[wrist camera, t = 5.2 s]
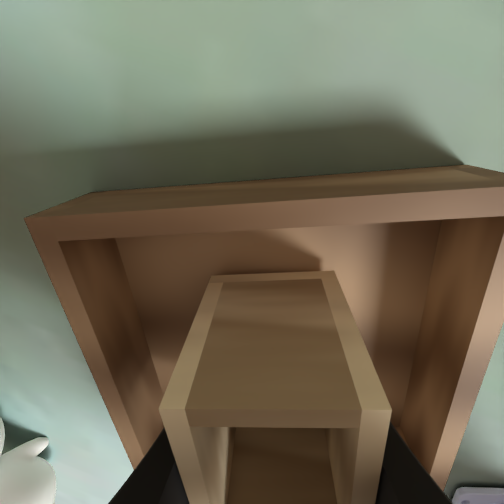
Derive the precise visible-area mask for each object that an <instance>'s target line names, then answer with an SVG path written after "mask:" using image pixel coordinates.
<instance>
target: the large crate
mask: <svg viewBox="0 0 504 504" xmlns="http://www.w3.org/2000/svg"><path fill="white" fill-rule="evenodd" d="M24 220H25V222H26V225H27V227H28V229H29V232H30V234H31V236H32V238H33V241H34V243H35V245H36V248H37V250H38V252H39V254H40V257H41V259H42V261H43V263H44V266H45V268H46V270H47V273H48V275H49V277H50V279H51V282H52V284H53V286H54V289H55V291H56V293H57V295H58V298H59V300H60V302H61V305H62V307H63V309H64V311H65V314H66V316H67V318H68V320H69V323H70V325H71V327H72V330H73V332H74V334H75V336H76V339H77V341H78V343H79V346H80V348H81V350H82V352H83V355H84V357H85V359H86V362H87V364H88V366H89V368H90V371H91V373H92V375H93V378H94V380H95V382H96V384H97V387H98V389H99V391H100V393H101V396H102V398H103V400H104V403H105V405H106V407H107V409H108V412H109V414H110V416H111V419H112V421H113V423H114V425H115V428H116V430H117V432H118V435H119V437H120V439H121V441H122V444H123V446H124V448H125V450H126V453H127V455H128V457H129V460H130V462H131V464H132V466H133V469H134V470H135V468H136V467H137V466H138V464H139V463H140V462H141V460H142V459H143V457H144V456H145V455H146V453H147V452H148V450H149V449H150V448H151V446H152V445H153V443H154V442H155V440H156V439H157V437H158V436H159V434H160V433H161V431H162V430H163V428H164V424H163V421H162V418H161V415H160V412H159V406H160V404H161V401H162V399H163V396H164V394H165V391H166V389H167V386H168V384H169V381H170V379H171V376H172V374H173V371H174V369H175V366H176V363H177V361H178V358H179V356H180V353H181V351H182V348H183V346H184V343H185V341H186V338H187V336H188V333H189V331H190V328H191V326H192V323H193V321H194V318H195V316H196V313H197V311H198V308H199V306H200V303H201V301H202V298H203V296H204V293H205V290H206V288H207V285H208V283H209V280H210V278H211V276H212V275H236V274H260V273H284V272H308V271H332V270H334V271H335V274H336V276H337V279H338V281H339V283H340V286H341V288H342V291H343V293H344V295H345V298H346V300H347V303H348V305H349V307H350V310H351V312H352V315H353V317H354V319H355V322H356V324H357V327H358V329H359V332H360V334H361V336H362V339H363V341H364V344H365V346H366V348H367V351H368V353H369V356H370V358H371V360H372V363H373V365H374V368H375V370H376V373H377V375H378V377H379V380H380V382H381V385H382V387H383V389H384V392H385V394H386V397H387V399H388V401H389V404H390V406H391V409H392V413H391V418H390V422H391V423H392V425H393V426H394V428H395V429H396V430H397V432H398V433H399V435H400V436H401V437H402V439H403V440H404V442H405V443H406V444H407V446H408V447H409V448H410V450H411V451H412V452H413V454H414V455H415V456H416V458H417V459H418V460H419V462H420V463H421V464H422V466H423V467H424V468H425V470H426V471H427V472H428V473H429V475H430V476H431V477H432V478H433V480H434V481H435V482H436V483H437V485H438V486H439V487H440V488H441V490H442V491H444V488H445V485H446V483H447V480H448V477H449V474H450V471H451V468H452V466H453V463H454V460H455V457H456V454H457V452H458V449H459V446H460V443H461V440H462V437H463V435H464V432H465V429H466V426H467V423H468V421H469V418H470V415H471V412H472V409H473V406H474V404H475V401H476V398H477V395H478V392H479V390H480V387H481V384H482V381H483V378H484V375H485V373H486V370H487V367H488V364H489V361H490V359H491V356H492V353H493V350H494V347H495V344H496V342H497V339H498V336H499V333H500V330H501V328H502V325H503V322H504V173H502V172H498V171H493V170H489V169H484V168H479V167H475V166H470V165H454V166H441V167H427V168H413V169H400V170H386V171H373V172H359V173H345V174H332V175H318V176H305V177H291V178H278V179H264V180H250V181H237V182H223V183H210V184H196V185H182V186H169V187H155V188H142V189H128V190H114V191H101V192H91V193H88V194H85V195H83V196H80V197H78V198H75V199H72V200H70V201H67V202H65V203H62V204H59V205H57V206H54V207H52V208H49V209H46V210H44V211H41V212H39V213H36V214H33V215H31V216H28V217H26V218H24Z"/></svg>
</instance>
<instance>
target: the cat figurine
mask: <svg viewBox="0 0 504 504" xmlns="http://www.w3.org/2000/svg"><path fill="white" fill-rule="evenodd" d="M4 439H5V429H4V424H3V421H2V419H1V417H0V504H55V496H56V486H57V483H56V475H55V472H54V469H53V467H52V466H51V464H50V463H49V462H48V461H46V460H45V459H43V458H41V457H38V456H37V455H38V454H39V453H41V452H42V451H43V450H44V449H45V448H46V446H47V445H48V444H49V440H48V438H47V437H38V438H35V439H33V440H30V441H28V442H26V443H23V444H22V445H20V446H18V447H16V448H14V449H12V450H10V451H8V452H6V453H4V454H2V450H3V446H4ZM1 454H2V455H1Z"/></svg>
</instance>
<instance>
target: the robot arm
mask: <svg viewBox="0 0 504 504" xmlns="http://www.w3.org/2000/svg"><path fill="white" fill-rule="evenodd" d="M108 504H190V503H189V500H188V497H187V494H186V491H185V488H184V485H183V482H182V479H181V476H180V473H179V470H178V467H177V464H176V461H175V458H174V455H173V452H172V449H171V445H170V442H169V439H168V436H167V433H166V430H165V427H164V428H163V430H162V431H161V433H160V434H159V436H158V437H157V439H156V440H155V442H154V443H153V445H152V446H151V448H150V449H149V450H148V452H147V453H146V455H145V456H144V457H143V459H142V460H141V462H140V463H139V464H138V466H137V467H136V468H135V470H134V471H133V472H132V474H131V475H130V477H129V478H128V479H127V481H126V482H125V483H124V484H123V486H122V487H121V488H120V490H119V491H118V492H117V493H116V495H115V496H114V497H113V498H112V500H111V501H110V502H109V503H108ZM375 504H504V488H484V487H461V488H458V489H457V490H456V492H455V494H454V497H453V499H452V502H451V501H450V499H449V498H448V497H447V496H446V495H445V493H444V492H443V491H442V490H441V488H440V487H439V486H438V485H437V483H436V482H435V481H434V480H433V478H432V477H431V476H430V475H429V473H428V472H427V471H426V470H425V468H424V467H423V466H422V464H421V463H420V462H419V460H418V459H417V458H416V456H415V455H414V454H413V452H412V451H411V450H410V448H409V447H408V446H407V444H406V443H405V442H404V440H403V439H402V437H401V436H400V435H399V433H398V432H397V430H396V429H395V428H394V426H393V425H392V423H391V422H390V424H389V429H388V435H387V440H386V446H385V451H384V457H383V462H382V468H381V473H380V479H379V484H378V490H377V495H376V501H375Z"/></svg>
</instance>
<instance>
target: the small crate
mask: <svg viewBox="0 0 504 504" xmlns="http://www.w3.org/2000/svg"><path fill="white" fill-rule="evenodd" d="M159 412H160V415H161V418H162V421H163V424H164V427H165V430H166V433H167V436H168V439H169V442H170V445H171V449H172V452H173V455H174V458H175V461H176V464H177V467H178V470H179V473H180V476H181V479H182V482H183V485H184V488H185V491H186V494H187V497H188V500H189V503H190V504H375V501H376V495H377V490H378V484H379V479H380V473H381V468H382V462H383V457H384V451H385V446H386V440H387V435H388V429H389V424H390V418H391V413H392V409H391V406H390V404H389V401H388V399H387V397H386V394H385V392H384V389H383V387H382V385H381V382H380V380H379V377H378V375H377V373H376V370H375V368H374V365H373V363H372V360H371V358H370V356H369V353H368V351H367V348H366V346H365V344H364V341H363V339H362V336H361V334H360V332H359V329H358V327H357V324H356V322H355V319H354V317H353V315H352V312H351V310H350V307H349V305H348V303H347V300H346V298H345V295H344V293H343V291H342V288H341V286H340V283H339V281H338V279H337V276H336V274H335V271H334V270H332V271H308V272H284V273H260V274H236V275H212V276H211V278H210V280H209V283H208V285H207V288H206V290H205V293H204V296H203V298H202V301H201V303H200V306H199V308H198V311H197V313H196V316H195V318H194V321H193V323H192V326H191V328H190V331H189V333H188V336H187V338H186V341H185V343H184V346H183V348H182V351H181V353H180V356H179V358H178V361H177V363H176V366H175V369H174V371H173V374H172V376H171V379H170V381H169V384H168V386H167V389H166V391H165V394H164V396H163V399H162V401H161V404H160V406H159Z"/></svg>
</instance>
